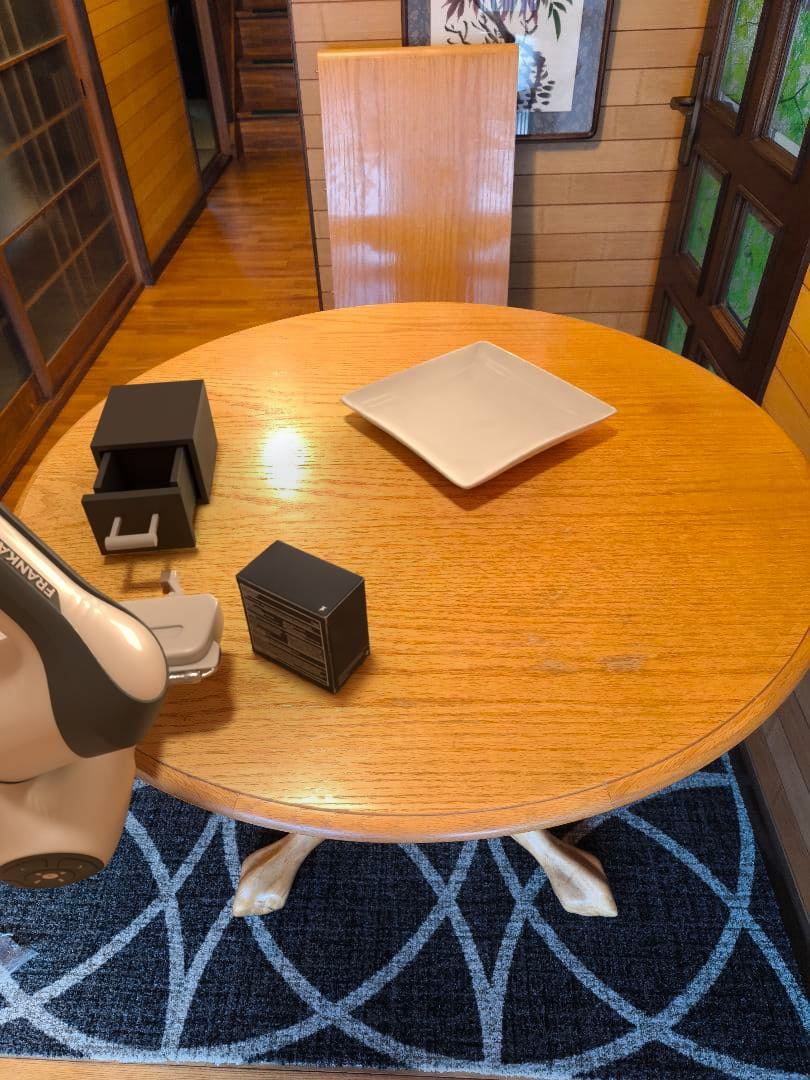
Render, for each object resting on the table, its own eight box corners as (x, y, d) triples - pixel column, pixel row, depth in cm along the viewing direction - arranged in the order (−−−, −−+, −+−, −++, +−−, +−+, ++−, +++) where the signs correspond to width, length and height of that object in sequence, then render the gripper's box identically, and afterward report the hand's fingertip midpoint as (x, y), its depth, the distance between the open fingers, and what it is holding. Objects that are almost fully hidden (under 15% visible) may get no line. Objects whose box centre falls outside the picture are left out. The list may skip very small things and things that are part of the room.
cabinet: (209, 503, 93) (193, 438, 87) (112, 511, 93) (89, 446, 86) (217, 441, 104) (203, 378, 97) (130, 448, 103) (111, 385, 96)
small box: (374, 651, 75) (369, 575, 68) (335, 697, 71) (325, 621, 64) (291, 610, 80) (277, 535, 73) (249, 651, 76) (231, 575, 69)
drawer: (191, 576, 83) (175, 521, 77) (93, 585, 82) (70, 530, 77) (205, 481, 95) (192, 428, 90) (120, 488, 95) (102, 435, 90)
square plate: (617, 432, 103) (621, 407, 101) (463, 512, 91) (464, 487, 88) (483, 357, 120) (484, 334, 117) (337, 417, 107) (335, 393, 105)
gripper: (211, 656, 63) (223, 545, 74) (-43, 681, 62) (5, 565, 72) (225, 702, 67) (234, 591, 78) (-13, 727, 66) (28, 611, 76)
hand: (122, 579), depth 75 cm, fingers open, 8 cm apart
